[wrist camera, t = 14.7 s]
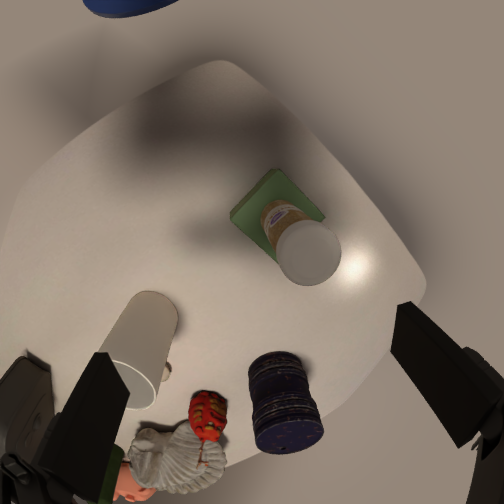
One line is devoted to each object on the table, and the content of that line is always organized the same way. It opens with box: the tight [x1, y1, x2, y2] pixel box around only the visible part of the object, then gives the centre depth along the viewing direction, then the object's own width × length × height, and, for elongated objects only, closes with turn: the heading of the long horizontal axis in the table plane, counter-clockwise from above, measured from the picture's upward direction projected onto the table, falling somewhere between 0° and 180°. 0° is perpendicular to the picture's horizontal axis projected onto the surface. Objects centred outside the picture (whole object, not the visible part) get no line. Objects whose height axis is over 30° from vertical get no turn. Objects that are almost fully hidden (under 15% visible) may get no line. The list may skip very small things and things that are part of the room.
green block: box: [230, 169, 325, 264], centre depth 33 cm, size 8×8×5 cm
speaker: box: [0, 356, 54, 464], centre depth 32 cm, size 25×9×25 cm, turn 153°
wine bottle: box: [87, 444, 124, 504], centre depth 38 cm, size 8×8×30 cm
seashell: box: [128, 421, 227, 494], centre depth 44 cm, size 19×20×20 cm
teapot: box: [113, 463, 156, 502], centre depth 51 cm, size 22×16×12 cm
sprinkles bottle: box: [260, 200, 341, 286], centre depth 25 cm, size 5×5×13 cm
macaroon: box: [161, 364, 170, 382], centre depth 41 cm, size 4×5×2 cm
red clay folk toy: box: [188, 391, 227, 470], centre depth 39 cm, size 8×7×15 cm
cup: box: [98, 291, 178, 410], centre depth 32 cm, size 8×8×16 cm
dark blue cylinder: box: [248, 351, 324, 455], centre depth 37 cm, size 10×10×15 cm
